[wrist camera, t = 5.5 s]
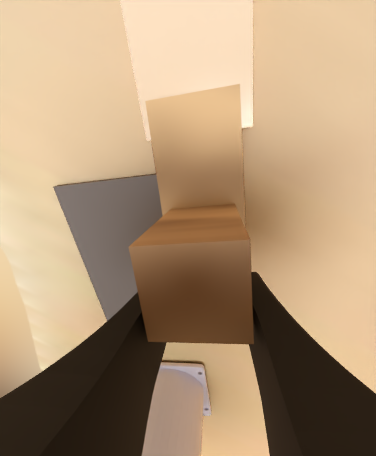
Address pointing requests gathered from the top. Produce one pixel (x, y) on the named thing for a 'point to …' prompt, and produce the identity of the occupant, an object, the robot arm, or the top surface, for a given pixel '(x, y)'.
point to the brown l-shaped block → (197, 223)
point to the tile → (190, 49)
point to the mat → (110, 230)
